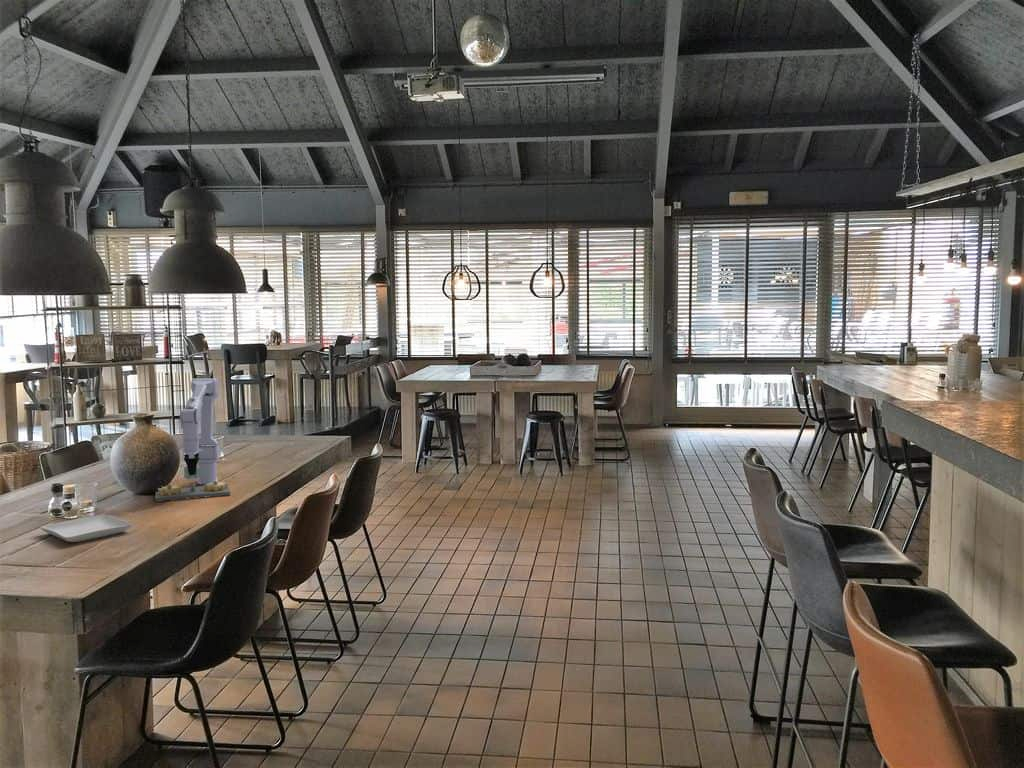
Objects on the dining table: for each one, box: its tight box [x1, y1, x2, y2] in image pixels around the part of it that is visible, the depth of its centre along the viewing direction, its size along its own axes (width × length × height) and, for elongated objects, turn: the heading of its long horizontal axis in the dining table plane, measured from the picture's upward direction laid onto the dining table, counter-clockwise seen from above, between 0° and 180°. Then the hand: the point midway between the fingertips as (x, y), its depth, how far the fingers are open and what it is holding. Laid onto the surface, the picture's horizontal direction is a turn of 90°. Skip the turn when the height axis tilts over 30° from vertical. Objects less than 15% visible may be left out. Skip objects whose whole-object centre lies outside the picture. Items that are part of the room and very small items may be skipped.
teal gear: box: [183, 465, 200, 480], centre depth 317 cm, size 6×6×4 cm
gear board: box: [154, 480, 231, 501], centre depth 317 cm, size 14×27×5 cm, turn 112°
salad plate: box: [40, 513, 133, 543], centre depth 264 cm, size 21×21×3 cm
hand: (192, 473), depth 317 cm, fingers closed on teal gear, 6 cm apart
